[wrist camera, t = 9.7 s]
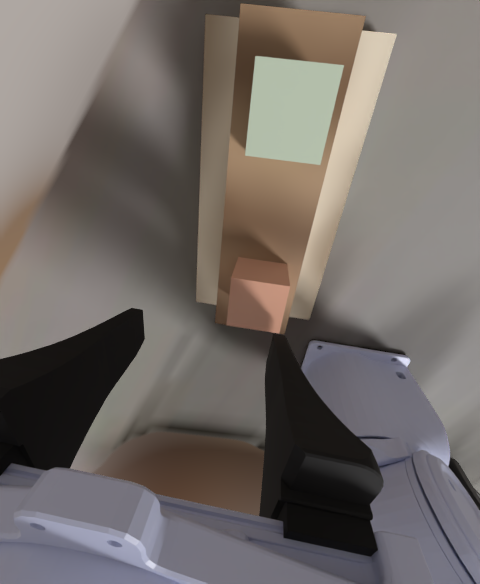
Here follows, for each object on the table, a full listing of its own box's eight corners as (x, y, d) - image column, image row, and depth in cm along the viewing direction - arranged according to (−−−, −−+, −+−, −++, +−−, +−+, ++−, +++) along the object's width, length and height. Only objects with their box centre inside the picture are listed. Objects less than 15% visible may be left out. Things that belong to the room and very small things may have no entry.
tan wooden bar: (249, 43, 14) (240, 3, 10) (341, 53, 13) (365, 15, 10) (224, 295, 21) (215, 322, 18) (282, 304, 21) (284, 334, 18)
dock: (385, 45, 14) (397, 34, 13) (307, 310, 23) (309, 320, 21) (211, 27, 14) (205, 14, 13) (200, 293, 23) (196, 301, 22)
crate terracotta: (287, 263, 15) (290, 286, 12) (278, 305, 16) (279, 333, 14) (238, 257, 15) (231, 277, 13) (233, 298, 17) (226, 325, 14)
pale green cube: (327, 87, 11) (343, 65, 8) (310, 163, 12) (320, 165, 10) (259, 80, 11) (255, 55, 8) (250, 155, 13) (245, 155, 10)
